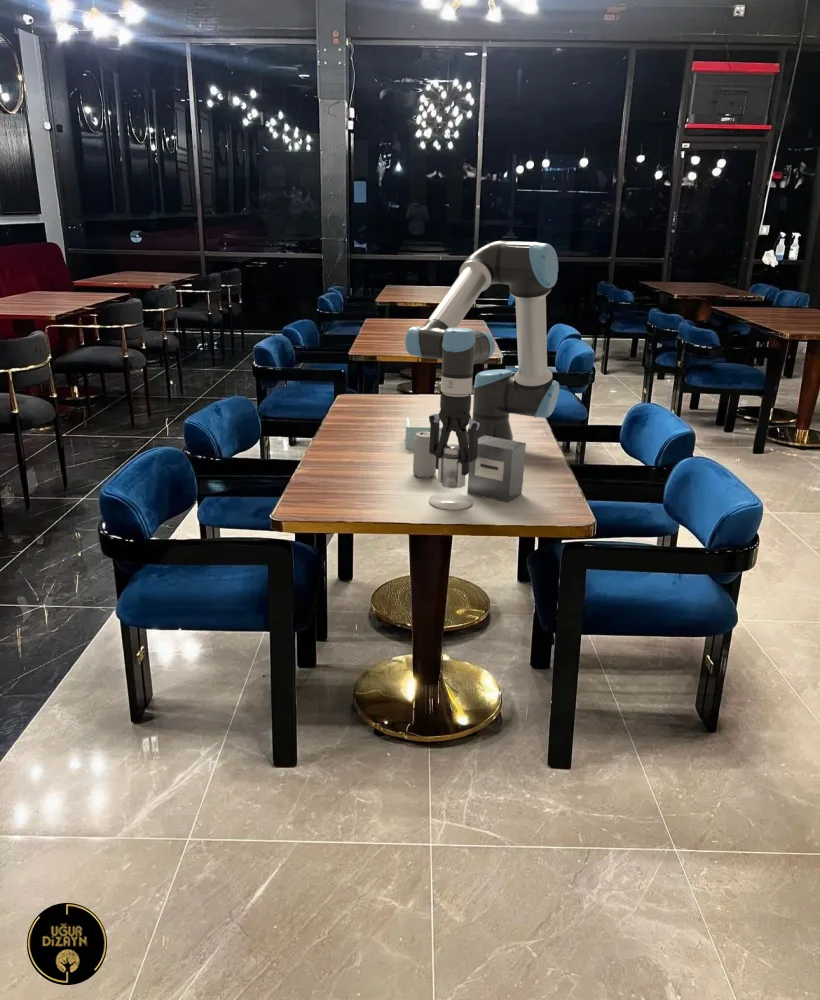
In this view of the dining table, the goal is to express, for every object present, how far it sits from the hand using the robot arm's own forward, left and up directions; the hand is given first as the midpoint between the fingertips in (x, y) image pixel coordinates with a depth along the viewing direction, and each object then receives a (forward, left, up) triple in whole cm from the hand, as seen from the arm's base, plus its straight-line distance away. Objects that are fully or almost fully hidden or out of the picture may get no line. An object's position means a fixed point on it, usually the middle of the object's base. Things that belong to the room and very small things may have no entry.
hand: (451, 484), depth 197 cm
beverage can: (-15, -17, -5) cm, 23 cm away
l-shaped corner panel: (-42, -34, -6) cm, 54 cm away
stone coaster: (0, 0, -5) cm, 5 cm away
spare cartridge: (0, 0, 0) cm, 0 cm away
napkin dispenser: (-13, +6, -5) cm, 15 cm away
